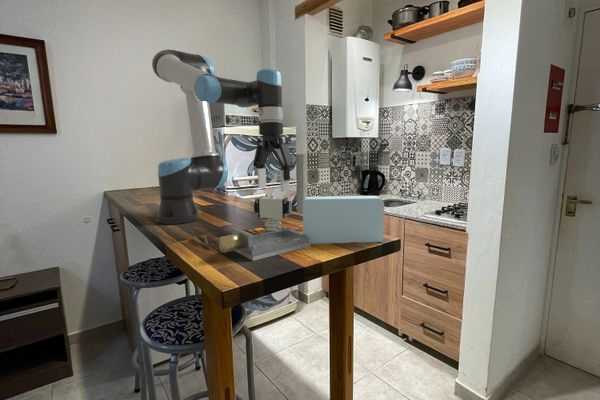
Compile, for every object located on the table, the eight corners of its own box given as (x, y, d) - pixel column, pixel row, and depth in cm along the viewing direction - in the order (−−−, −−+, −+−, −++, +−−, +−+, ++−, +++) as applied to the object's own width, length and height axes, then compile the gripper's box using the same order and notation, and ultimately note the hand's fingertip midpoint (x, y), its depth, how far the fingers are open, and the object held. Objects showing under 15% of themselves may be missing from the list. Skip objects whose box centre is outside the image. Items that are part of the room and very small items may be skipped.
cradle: (234, 265, 76) (233, 240, 75) (212, 251, 87) (210, 229, 86) (310, 246, 90) (310, 225, 89) (283, 236, 100) (282, 217, 100)
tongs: (206, 252, 88) (205, 245, 87) (190, 241, 98) (190, 235, 98) (220, 249, 90) (220, 242, 90) (204, 239, 100) (204, 232, 100)
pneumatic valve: (289, 232, 105) (288, 195, 103) (254, 231, 107) (253, 195, 105) (292, 228, 110) (292, 193, 108) (259, 227, 113) (258, 192, 111)
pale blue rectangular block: (378, 237, 98) (379, 195, 96) (383, 243, 93) (384, 198, 91) (303, 238, 98) (302, 196, 96) (303, 244, 93) (302, 199, 91)
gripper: (241, 124, 110) (244, 187, 113) (283, 118, 91) (286, 193, 94) (260, 125, 115) (263, 185, 118) (304, 119, 95) (306, 191, 98)
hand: (273, 189), depth 106 cm, fingers open, 13 cm apart
